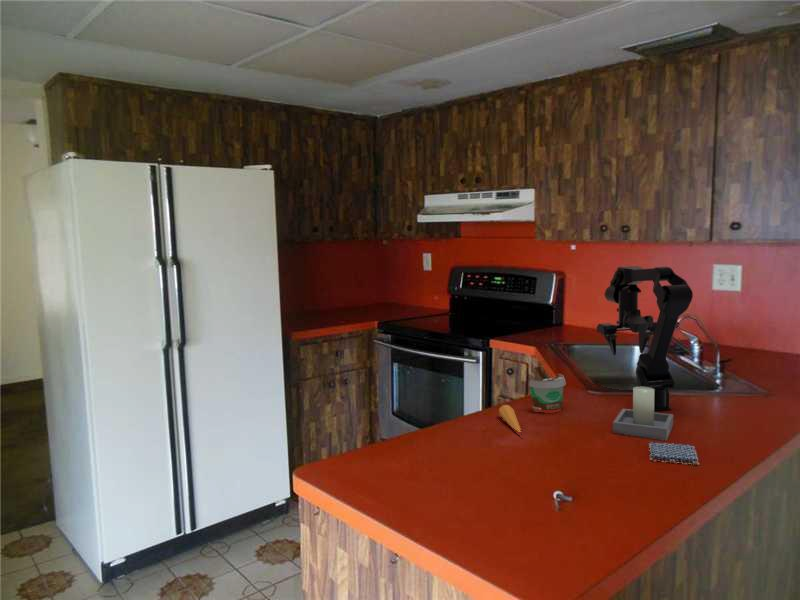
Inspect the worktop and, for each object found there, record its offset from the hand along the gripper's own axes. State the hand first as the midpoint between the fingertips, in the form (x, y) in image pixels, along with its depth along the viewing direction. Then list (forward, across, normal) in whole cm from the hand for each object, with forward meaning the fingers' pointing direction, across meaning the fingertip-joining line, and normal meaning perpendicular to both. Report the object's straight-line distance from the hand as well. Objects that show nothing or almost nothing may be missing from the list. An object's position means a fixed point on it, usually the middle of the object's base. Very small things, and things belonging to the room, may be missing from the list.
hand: (627, 354), depth 189 cm
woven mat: (+14, -16, -50) cm, 54 cm away
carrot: (+14, -46, -22) cm, 53 cm away
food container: (+13, -30, -11) cm, 35 cm away
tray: (+13, -13, -32) cm, 37 cm away
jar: (+12, -13, -32) cm, 37 cm away
